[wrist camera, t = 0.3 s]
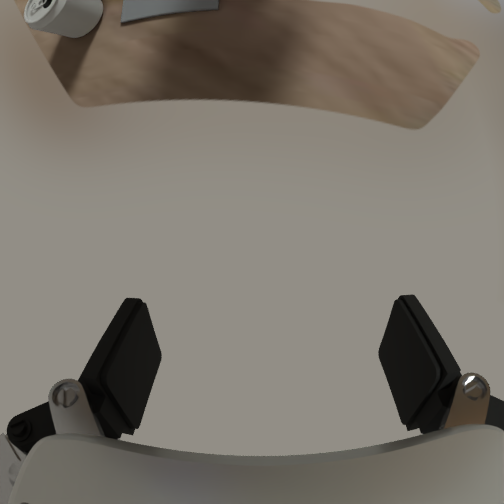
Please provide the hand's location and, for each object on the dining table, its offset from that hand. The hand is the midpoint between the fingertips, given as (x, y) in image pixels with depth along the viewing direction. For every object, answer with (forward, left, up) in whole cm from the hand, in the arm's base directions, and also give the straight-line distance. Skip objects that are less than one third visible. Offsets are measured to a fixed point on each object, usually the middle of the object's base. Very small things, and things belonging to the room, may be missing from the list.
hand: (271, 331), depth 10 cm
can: (-26, -28, -31) cm, 49 cm away
